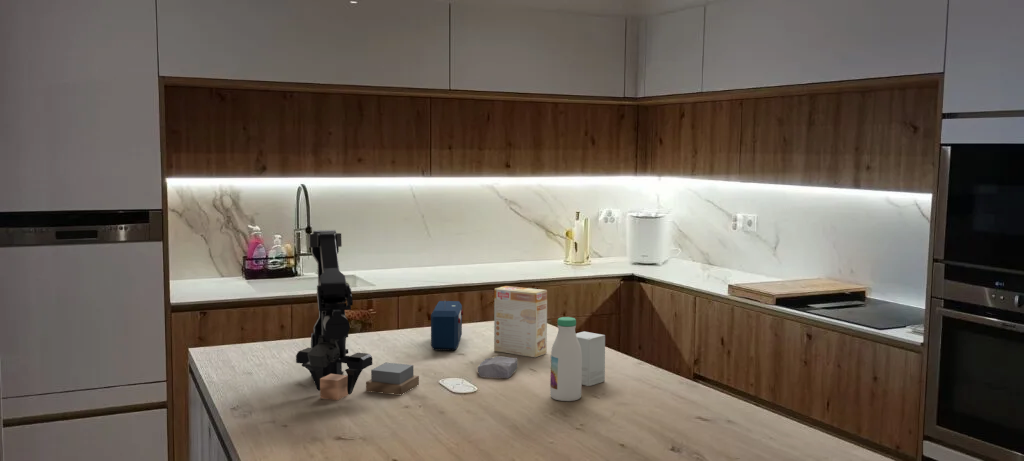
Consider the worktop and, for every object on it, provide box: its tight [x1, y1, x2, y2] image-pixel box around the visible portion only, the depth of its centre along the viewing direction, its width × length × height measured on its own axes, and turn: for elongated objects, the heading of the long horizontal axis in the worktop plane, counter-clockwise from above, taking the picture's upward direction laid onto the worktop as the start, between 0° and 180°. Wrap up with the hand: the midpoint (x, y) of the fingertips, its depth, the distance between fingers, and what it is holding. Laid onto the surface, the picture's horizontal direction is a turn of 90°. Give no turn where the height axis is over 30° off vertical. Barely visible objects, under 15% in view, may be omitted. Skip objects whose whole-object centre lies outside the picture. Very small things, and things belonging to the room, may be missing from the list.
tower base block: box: [365, 374, 420, 396], centre depth 220 cm, size 10×10×3 cm
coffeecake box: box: [493, 285, 548, 358], centre depth 258 cm, size 15×7×20 cm, turn 58°
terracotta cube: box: [319, 374, 349, 401], centre depth 212 cm, size 5×5×5 cm
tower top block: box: [370, 361, 415, 385], centre depth 219 cm, size 8×8×3 cm
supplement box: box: [575, 330, 606, 387], centre depth 226 cm, size 7×7×13 cm
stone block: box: [477, 355, 518, 379], centre depth 236 cm, size 12×5×10 cm
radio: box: [430, 300, 464, 351], centre depth 268 cm, size 21×9×20 cm, turn 179°
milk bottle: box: [549, 316, 582, 402], centre depth 211 cm, size 8×8×20 cm
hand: (334, 392), depth 212 cm, fingers open, 8 cm apart
